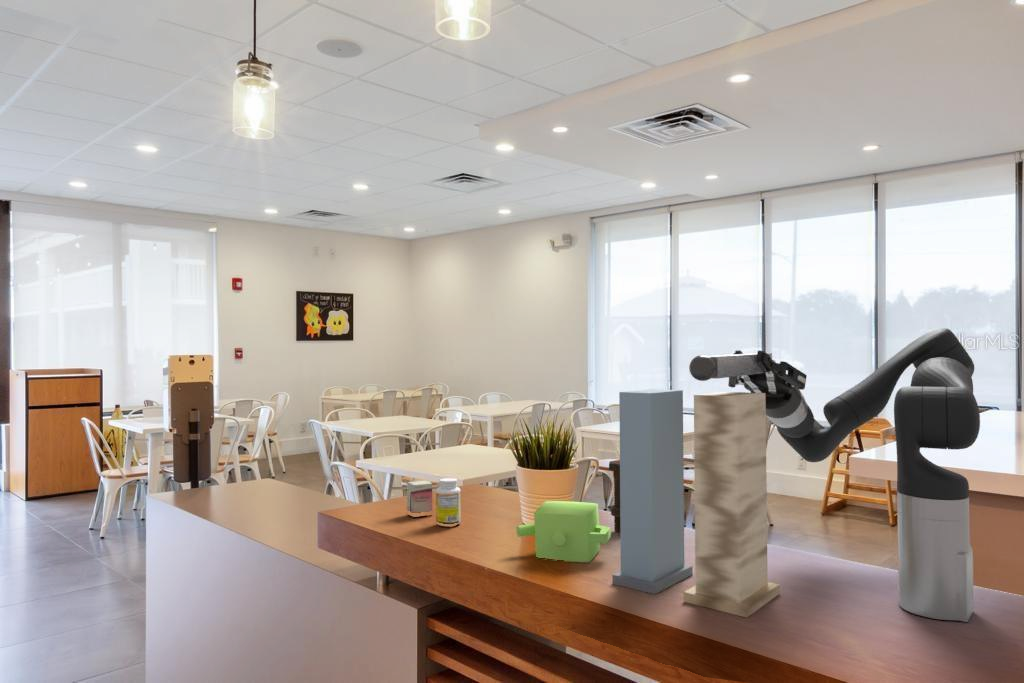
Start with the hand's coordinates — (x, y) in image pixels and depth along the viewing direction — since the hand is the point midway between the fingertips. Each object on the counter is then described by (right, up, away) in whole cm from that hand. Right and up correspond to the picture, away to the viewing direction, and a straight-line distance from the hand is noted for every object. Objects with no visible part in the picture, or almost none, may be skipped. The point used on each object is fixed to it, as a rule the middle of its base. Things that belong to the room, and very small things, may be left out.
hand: (747, 355), depth 114 cm
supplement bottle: (-53, -39, +42) cm, 78 cm away
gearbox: (-29, -39, +17) cm, 52 cm away
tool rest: (-4, -38, -6) cm, 39 cm away
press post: (-15, -38, +4) cm, 41 cm away
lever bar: (-4, -3, -5) cm, 7 cm away
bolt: (-15, -39, +35) cm, 55 cm away
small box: (-61, -40, +51) cm, 89 cm away
